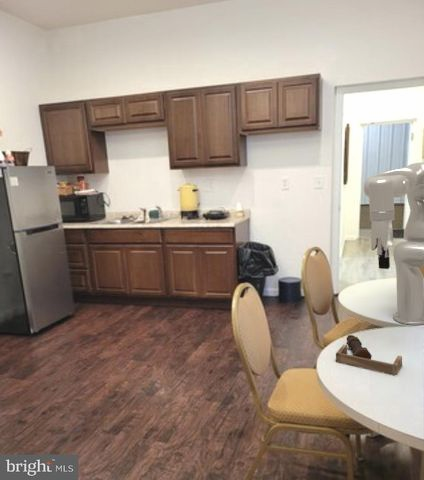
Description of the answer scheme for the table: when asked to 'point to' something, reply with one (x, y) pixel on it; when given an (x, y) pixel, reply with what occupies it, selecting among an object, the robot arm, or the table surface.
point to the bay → (368, 362)
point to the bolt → (357, 347)
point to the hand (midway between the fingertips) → (384, 267)
